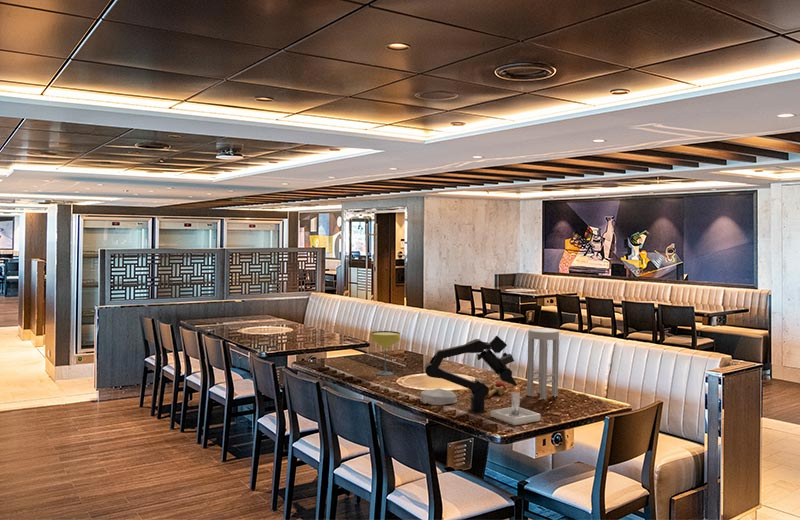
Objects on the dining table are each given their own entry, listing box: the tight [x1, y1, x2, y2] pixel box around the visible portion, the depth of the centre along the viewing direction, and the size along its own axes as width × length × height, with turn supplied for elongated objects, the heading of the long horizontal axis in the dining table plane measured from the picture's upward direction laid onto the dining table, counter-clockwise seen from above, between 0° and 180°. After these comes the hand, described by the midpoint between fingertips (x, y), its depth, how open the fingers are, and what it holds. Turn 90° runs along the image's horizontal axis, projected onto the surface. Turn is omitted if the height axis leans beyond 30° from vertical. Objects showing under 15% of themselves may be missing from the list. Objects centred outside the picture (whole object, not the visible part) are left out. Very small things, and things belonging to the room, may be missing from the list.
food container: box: [419, 387, 458, 406], centre depth 331 cm, size 20×20×7 cm
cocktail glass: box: [370, 330, 401, 376], centre depth 395 cm, size 18×18×25 cm
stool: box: [526, 328, 560, 400], centre depth 344 cm, size 16×16×35 cm
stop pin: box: [509, 386, 522, 418], centre depth 298 cm, size 6×6×14 cm
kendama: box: [485, 381, 507, 399], centre depth 345 cm, size 8×6×18 cm
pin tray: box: [490, 406, 542, 426], centre depth 299 cm, size 16×16×3 cm
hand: (514, 383), depth 311 cm, fingers open, 9 cm apart
